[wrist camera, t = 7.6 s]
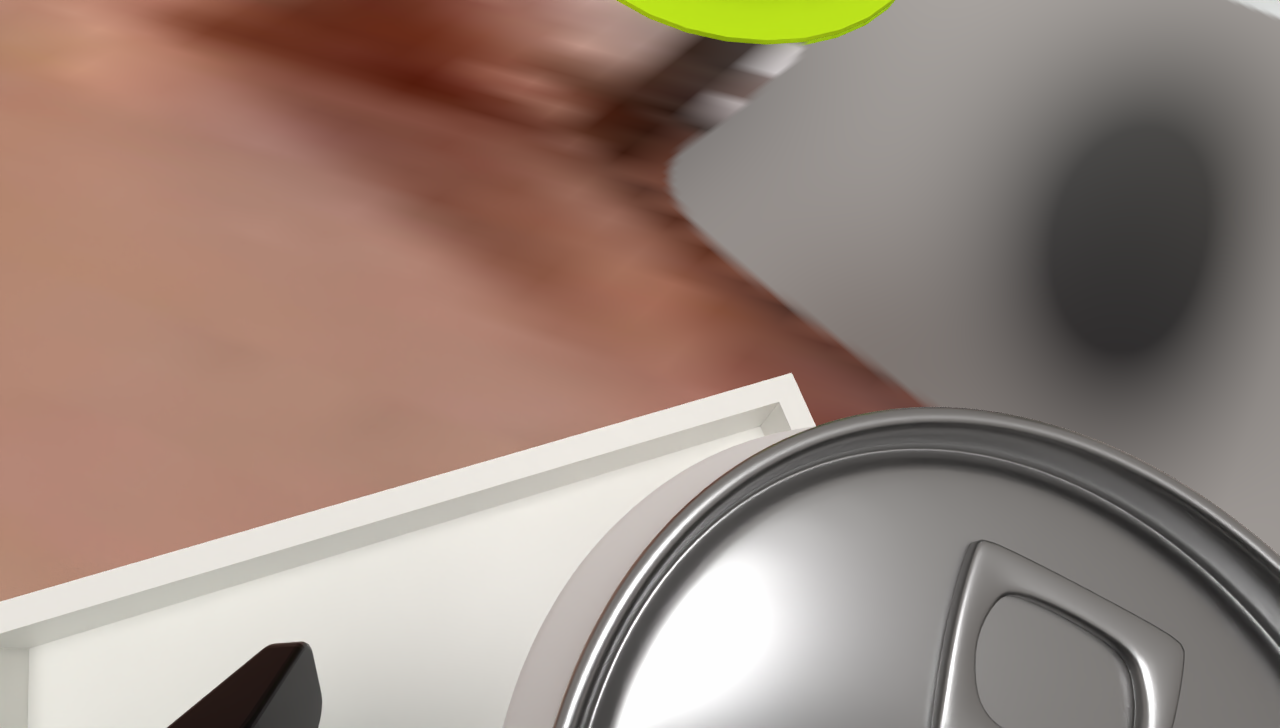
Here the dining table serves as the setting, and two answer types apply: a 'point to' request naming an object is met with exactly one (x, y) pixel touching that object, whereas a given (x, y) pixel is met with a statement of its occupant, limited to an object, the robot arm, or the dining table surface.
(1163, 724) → the can
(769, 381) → the long tray
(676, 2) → the toy cauldron
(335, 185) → the dining table surface
